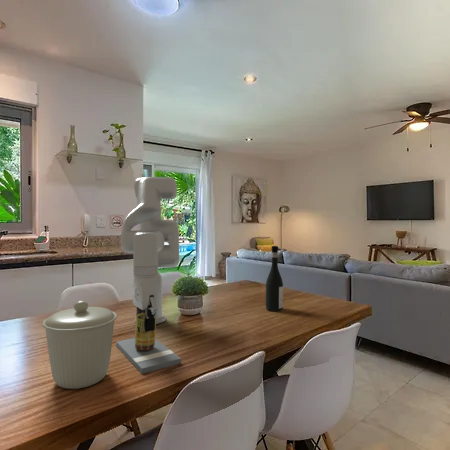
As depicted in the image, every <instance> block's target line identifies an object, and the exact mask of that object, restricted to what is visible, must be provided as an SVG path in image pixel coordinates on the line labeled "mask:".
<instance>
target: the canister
mask: <svg viewBox="0 0 450 450" xmlns="http://www.w3.org/2000/svg"><path fill="white" fill-rule="evenodd" d="M116 319H118V314H117V313H116V312H115V311H112V310H111V309H109V308H107V307H102V306H89V303H88V302H87V301H86V300H78V301H76V302H75V303H74V304H73V307H72V308H66V309H63V310H60V311H57V312H54V313H52V314H51V315H50V316H49V317H47V318H45V319H44V320H43V321H42V323H41V325H42V327H43V328H44V329H45V334H46V344H47V350H48V351H47V352H48V358H49V365H50V371H51V376H52V379H53V382H54V383H55V384H56V385H57V386H58V387H60V388H63V389H68V390H74V389H75V390H76V389H77V390H78V389H83V388H87V387H90V386H93V385H95V384H98V383H99V382H100V381H103V379H104V378H105V376H106V375H107V373H108V371H109V366H110V362H111V354H112V348H113V338H114V330H115V329H114V327H115V321H116Z"/></svg>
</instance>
